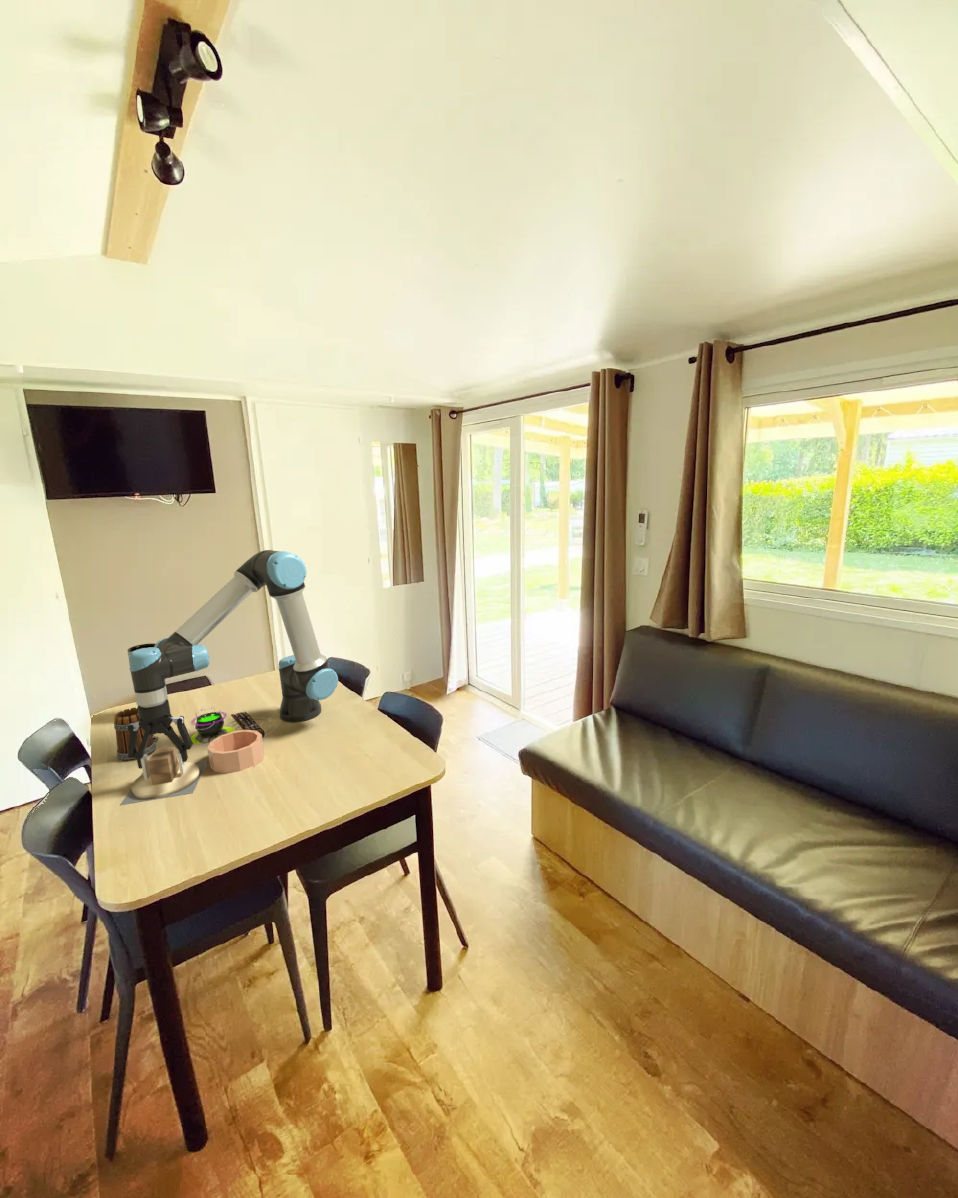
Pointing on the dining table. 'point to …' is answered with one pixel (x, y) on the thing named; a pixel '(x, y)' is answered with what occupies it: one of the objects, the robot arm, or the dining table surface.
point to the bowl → (236, 751)
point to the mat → (189, 790)
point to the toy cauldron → (209, 727)
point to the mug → (122, 734)
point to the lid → (164, 776)
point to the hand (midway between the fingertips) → (165, 774)
